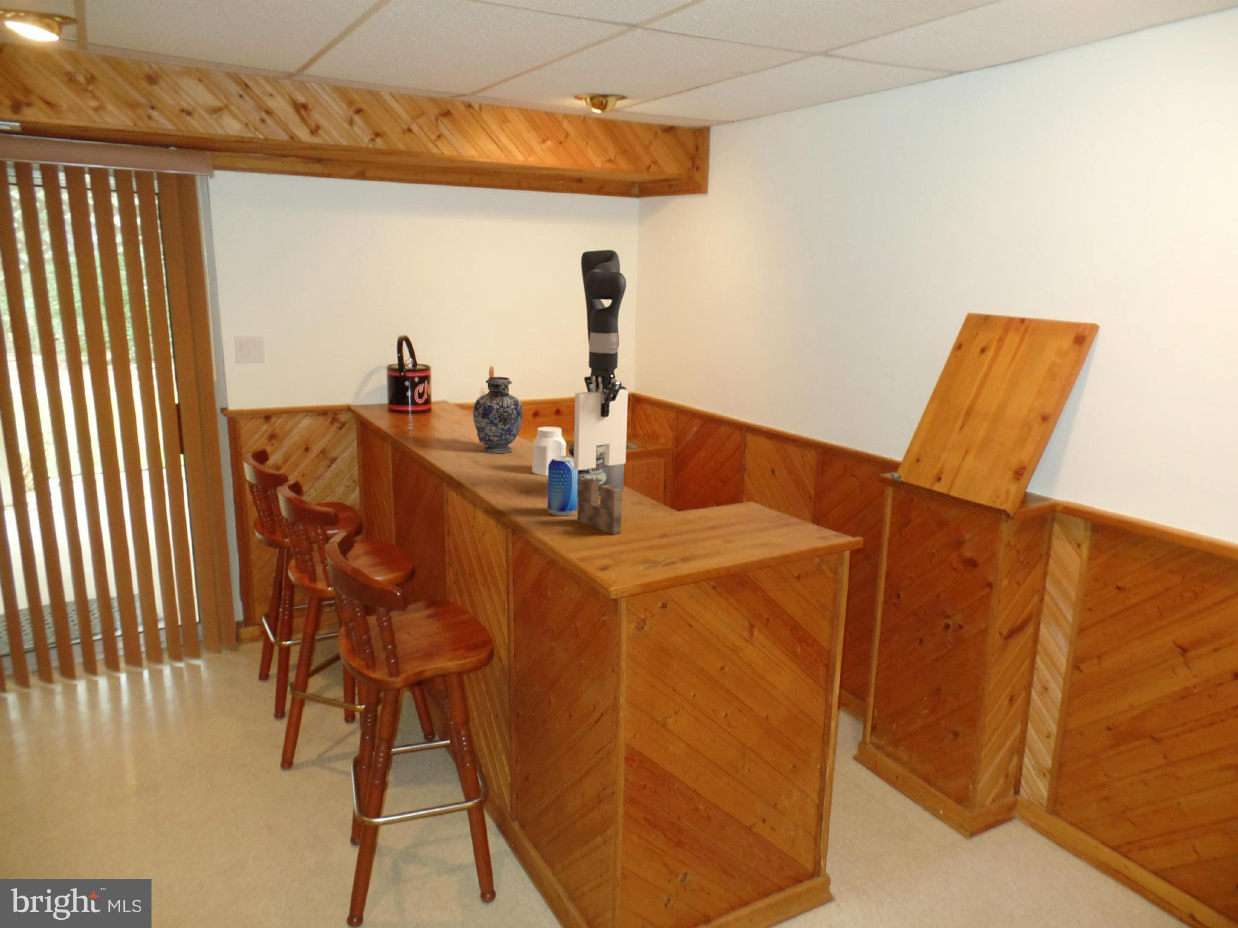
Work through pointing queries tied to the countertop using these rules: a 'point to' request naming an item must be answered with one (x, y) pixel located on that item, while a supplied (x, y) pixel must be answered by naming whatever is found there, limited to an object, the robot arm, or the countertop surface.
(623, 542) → the countertop surface
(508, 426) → the decorative vase
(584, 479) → the walnut notched block
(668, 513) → the countertop surface
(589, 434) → the cream plate
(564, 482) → the beer can
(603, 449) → the apothecary jar
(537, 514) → the countertop surface
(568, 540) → the countertop surface
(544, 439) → the jar
